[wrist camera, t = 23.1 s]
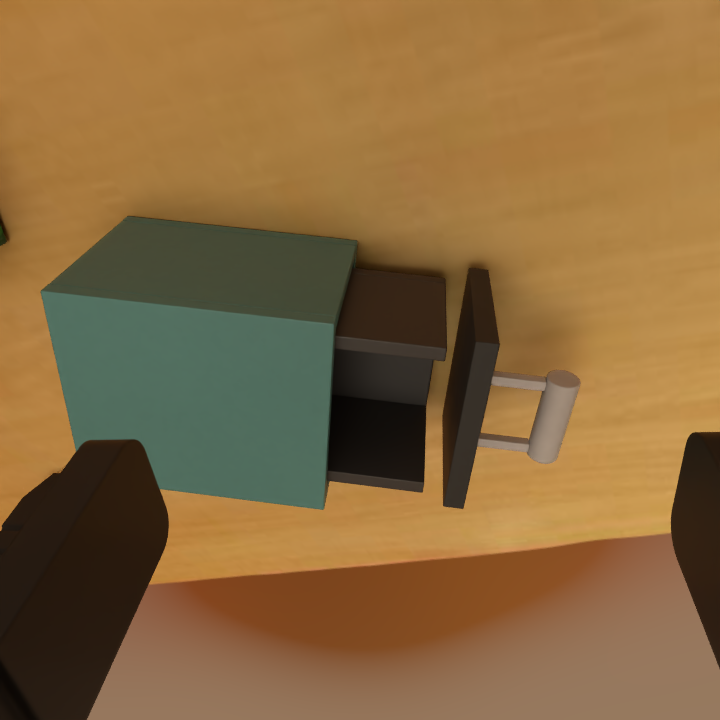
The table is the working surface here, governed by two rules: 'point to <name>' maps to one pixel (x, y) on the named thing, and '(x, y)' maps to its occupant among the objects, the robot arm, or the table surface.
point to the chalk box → (2, 237)
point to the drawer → (425, 384)
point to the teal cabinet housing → (206, 353)
